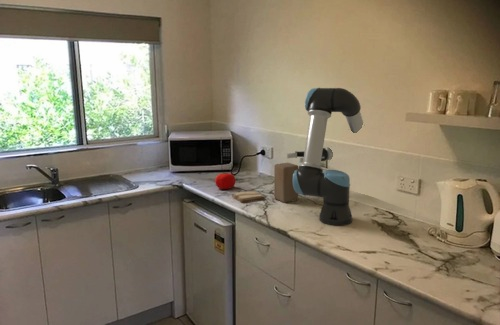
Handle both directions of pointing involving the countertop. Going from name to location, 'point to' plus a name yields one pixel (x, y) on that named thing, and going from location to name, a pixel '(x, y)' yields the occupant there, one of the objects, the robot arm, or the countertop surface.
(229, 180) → the tomato
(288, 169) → the block
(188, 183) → the countertop surface
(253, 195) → the trivet
